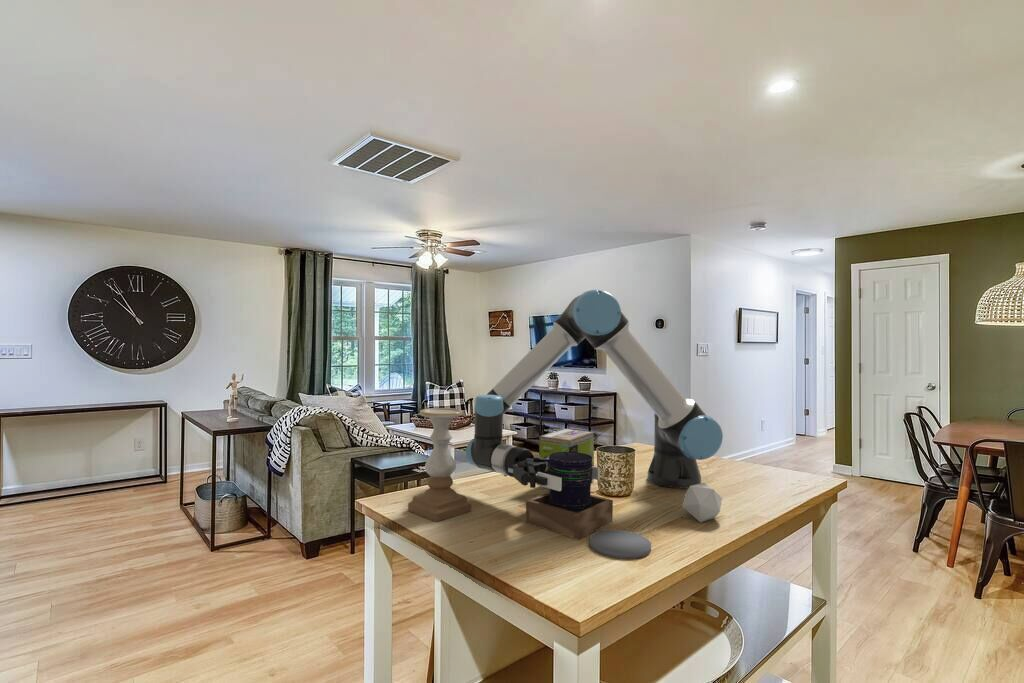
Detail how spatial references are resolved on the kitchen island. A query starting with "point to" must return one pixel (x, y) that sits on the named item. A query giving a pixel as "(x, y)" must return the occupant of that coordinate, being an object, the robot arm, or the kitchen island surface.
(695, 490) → the die
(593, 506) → the walnut open box
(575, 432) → the tea box
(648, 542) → the rubber pad
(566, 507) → the dark blue cylinder
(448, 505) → the candle holder
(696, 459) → the robot arm
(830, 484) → the kitchen island surface
